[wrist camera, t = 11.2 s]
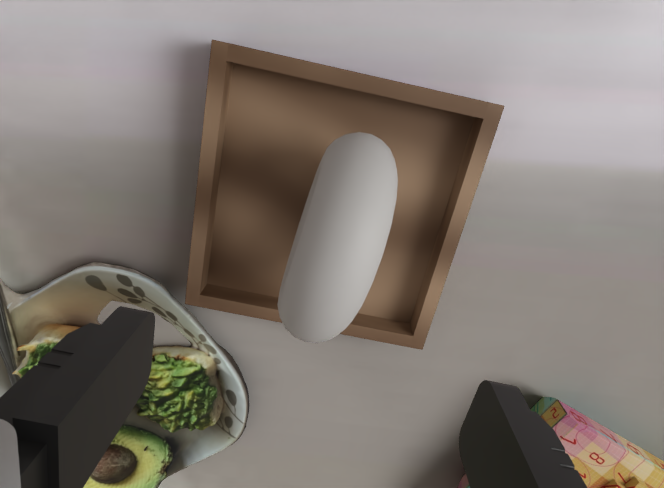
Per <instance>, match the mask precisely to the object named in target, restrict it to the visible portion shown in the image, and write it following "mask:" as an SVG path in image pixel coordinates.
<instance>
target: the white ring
mask: <svg viewBox="0 0 664 488" xmlns="http://www.w3.org/2000/svg"><path fill="white" fill-rule="evenodd" d="M397 186H398V176H397V168H396V163H395V159H394V157H393V154H392V152H391V150H390V148H389V147H388V146H387V145H386V144H385V143H384V142H383V141H382V140H381V139H379V138H378V137H376V136H374V135H372V134H368V133H362V132H357V133H350V134H346V135H343V136H341V137H339V138H337V139H335V140H334V141H333V142H332V143H331V144H330V145H329V146H328V147H327V149H326V151H325V153H324V155H323V157H322V159H321V161H320V164H319V166H318V169H317V172H316V174H315V177H314V180H313V183H312V186H311V189H310V192H309V195H308V198H307V201H306V204H305V207H304V210H303V213H302V216H301V219H300V222H299V225H298V229H297V232H296V235H295V238H294V242H293V245H292V248H291V252H290V255H289V258H288V262H287V265H286V269H285V272H284V276H283V279H282V283H281V287H280V292H279V298H278V304H277V305H278V311H279V316H280V319H281V321H282V323H283V324H284V326H285V328H286V329H287V330H288V331H289V332H290V333H291V334H292V335H293V336H294V337H296V338H298V339H300V340H302V341H304V342H312V343H319V342H324V341H328V340H330V339H332V338H333V337H335V336H337V335H338V334H340V333H341V332H342V331H344V330H345V329H346V328H347V327H348V325H349V324H350V323H351V322H352V321H353V319H354V318H355V316H356V314H357V313H358V311H359V310H360V308H361V307H362V305H363V303H364V301H365V298H366V296H367V294H368V292H369V290H370V288H371V286H372V283H373V281H374V278H375V275H376V273H377V270H378V267H379V264H380V262H381V259H382V256H383V253H384V250H385V246H386V243H387V239H388V236H389V232H390V229H391V225H392V220H393V215H394V210H395V205H396V200H397Z"/></svg>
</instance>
